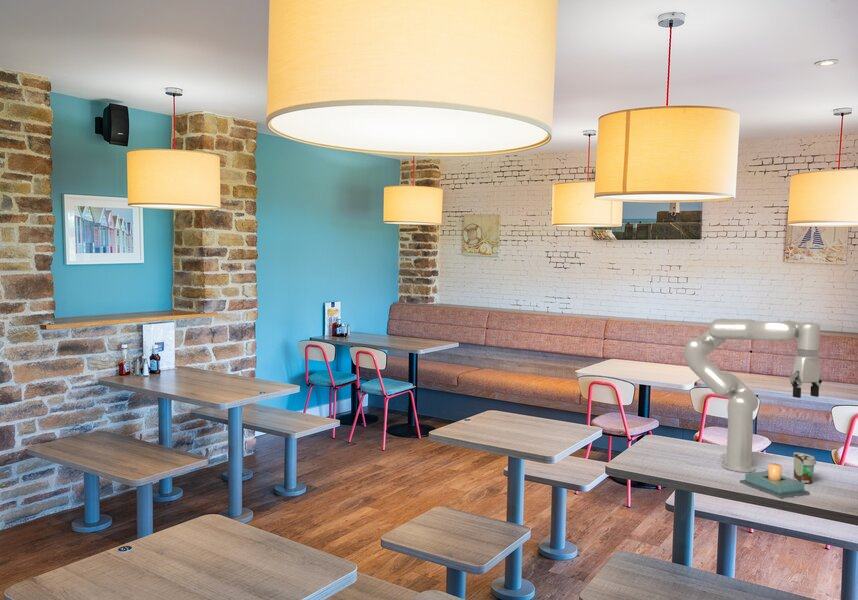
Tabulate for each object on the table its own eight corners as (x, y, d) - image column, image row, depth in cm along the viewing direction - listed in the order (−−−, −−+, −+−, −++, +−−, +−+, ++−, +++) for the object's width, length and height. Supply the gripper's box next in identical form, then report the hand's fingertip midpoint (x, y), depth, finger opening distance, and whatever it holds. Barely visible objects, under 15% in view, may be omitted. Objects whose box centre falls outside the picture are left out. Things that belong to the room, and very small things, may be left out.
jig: (739, 482, 261) (740, 472, 261) (766, 479, 266) (767, 469, 266) (781, 498, 243) (782, 487, 243) (809, 494, 248) (810, 484, 248)
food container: (820, 487, 258) (821, 461, 258) (802, 485, 259) (804, 460, 259) (808, 477, 270) (810, 453, 270) (792, 476, 271) (793, 451, 271)
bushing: (765, 484, 256) (766, 464, 255) (773, 483, 257) (774, 463, 257) (774, 488, 252) (775, 467, 251) (783, 487, 253) (784, 466, 253)
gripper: (814, 352, 271) (812, 394, 272) (783, 353, 265) (781, 396, 266) (832, 354, 264) (829, 397, 265) (800, 355, 258) (798, 399, 259)
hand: (805, 396), depth 265 cm, fingers open, 9 cm apart
